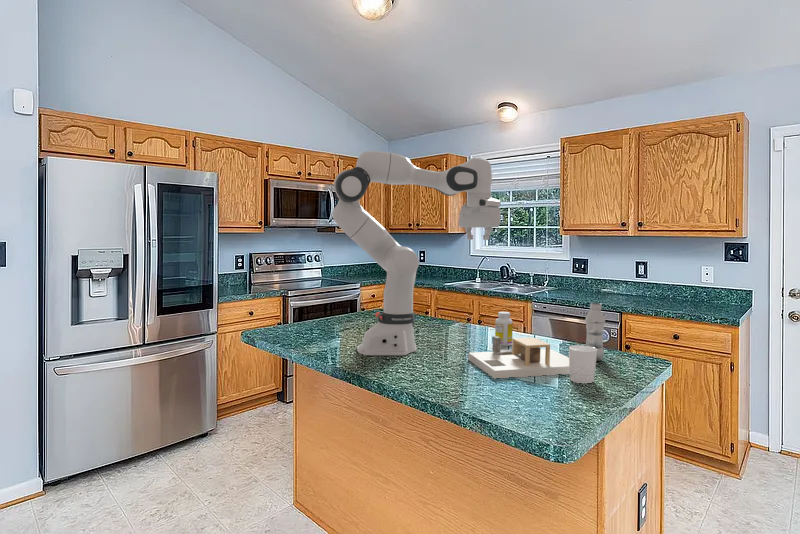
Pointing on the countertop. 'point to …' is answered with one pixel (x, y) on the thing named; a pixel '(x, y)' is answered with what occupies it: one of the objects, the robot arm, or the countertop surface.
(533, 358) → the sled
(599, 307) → the plastic bottle
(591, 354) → the white cup
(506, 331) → the supplement bottle
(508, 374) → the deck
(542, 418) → the countertop surface
